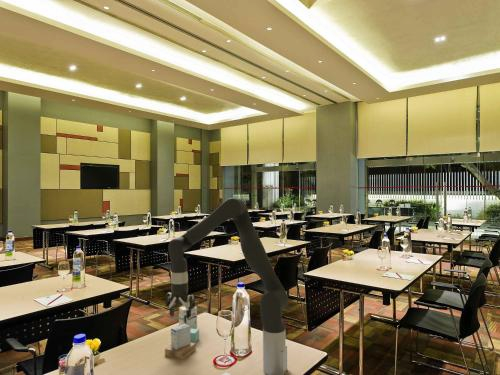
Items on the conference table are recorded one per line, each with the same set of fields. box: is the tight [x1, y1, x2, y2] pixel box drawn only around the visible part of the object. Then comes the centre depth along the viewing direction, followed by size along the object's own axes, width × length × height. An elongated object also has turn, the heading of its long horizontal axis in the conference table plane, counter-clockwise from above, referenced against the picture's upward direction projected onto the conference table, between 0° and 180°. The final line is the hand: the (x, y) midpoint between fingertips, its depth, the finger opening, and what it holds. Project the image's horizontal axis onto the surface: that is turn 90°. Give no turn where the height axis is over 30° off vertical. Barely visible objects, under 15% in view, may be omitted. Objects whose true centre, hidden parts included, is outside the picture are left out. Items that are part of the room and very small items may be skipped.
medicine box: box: [170, 324, 191, 350], centre depth 165 cm, size 8×4×9 cm, turn 137°
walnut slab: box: [164, 342, 197, 360], centre depth 165 cm, size 10×10×4 cm
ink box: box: [178, 305, 198, 329], centre depth 191 cm, size 8×5×12 cm, turn 123°
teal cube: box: [190, 328, 200, 343], centre depth 177 cm, size 5×5×5 cm
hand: (180, 316), depth 164 cm, fingers open, 8 cm apart
